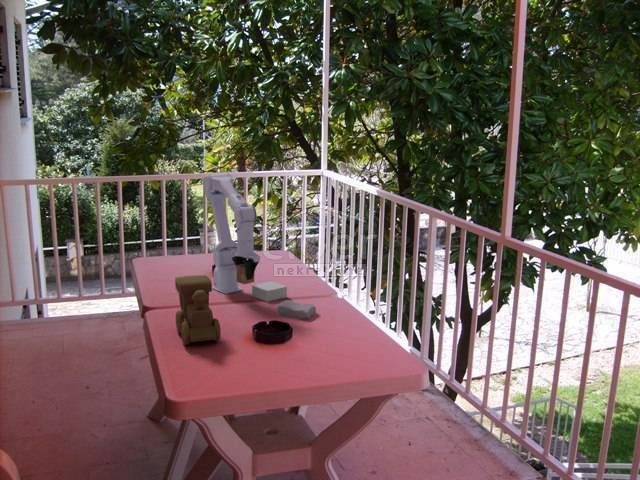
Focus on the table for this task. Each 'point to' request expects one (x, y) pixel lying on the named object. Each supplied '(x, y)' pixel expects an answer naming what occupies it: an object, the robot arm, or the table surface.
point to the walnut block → (242, 275)
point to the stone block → (296, 310)
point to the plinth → (269, 291)
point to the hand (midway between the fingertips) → (245, 277)
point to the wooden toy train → (195, 310)
